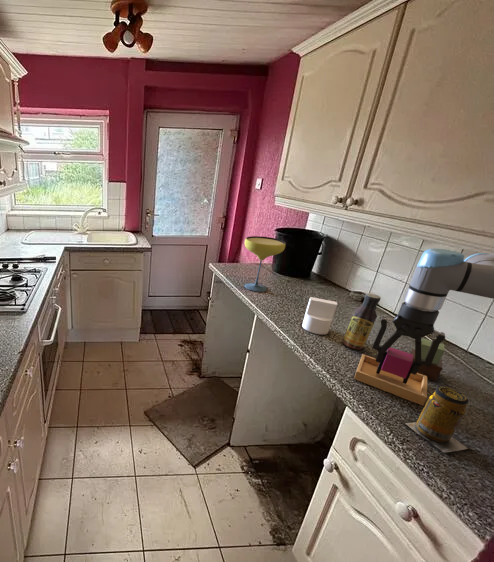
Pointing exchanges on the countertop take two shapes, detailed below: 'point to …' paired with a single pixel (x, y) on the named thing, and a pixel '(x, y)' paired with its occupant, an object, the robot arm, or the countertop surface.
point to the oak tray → (392, 381)
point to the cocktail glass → (262, 254)
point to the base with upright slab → (319, 315)
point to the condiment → (441, 419)
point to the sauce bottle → (362, 322)
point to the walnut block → (429, 369)
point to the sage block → (425, 348)
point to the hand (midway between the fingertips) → (391, 376)
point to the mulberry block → (397, 362)
